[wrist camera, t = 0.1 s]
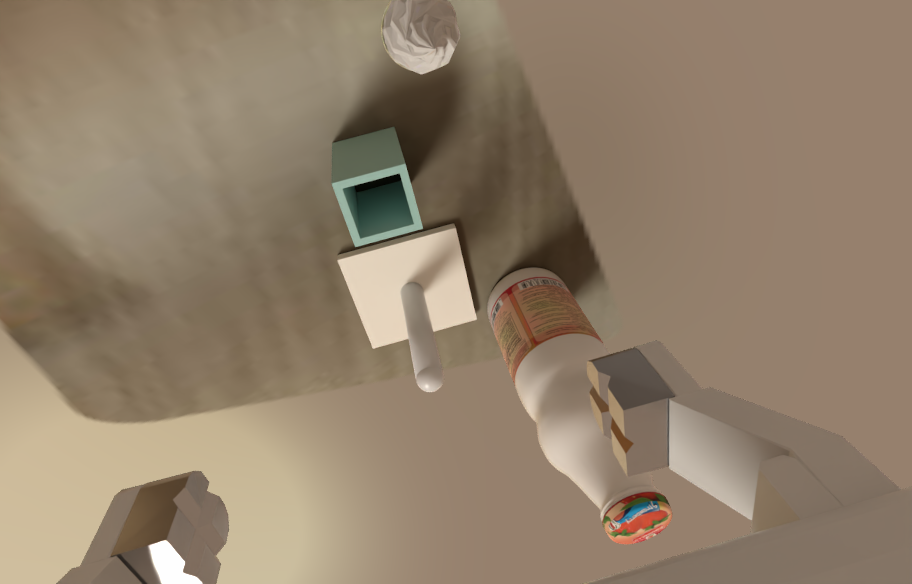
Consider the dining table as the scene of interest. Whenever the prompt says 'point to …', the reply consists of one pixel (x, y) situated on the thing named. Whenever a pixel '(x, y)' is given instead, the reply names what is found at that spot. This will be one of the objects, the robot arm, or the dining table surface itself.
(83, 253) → the dining table surface
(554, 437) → the fruit juice
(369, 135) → the sleeve
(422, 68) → the ice cream cone
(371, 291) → the post stand
